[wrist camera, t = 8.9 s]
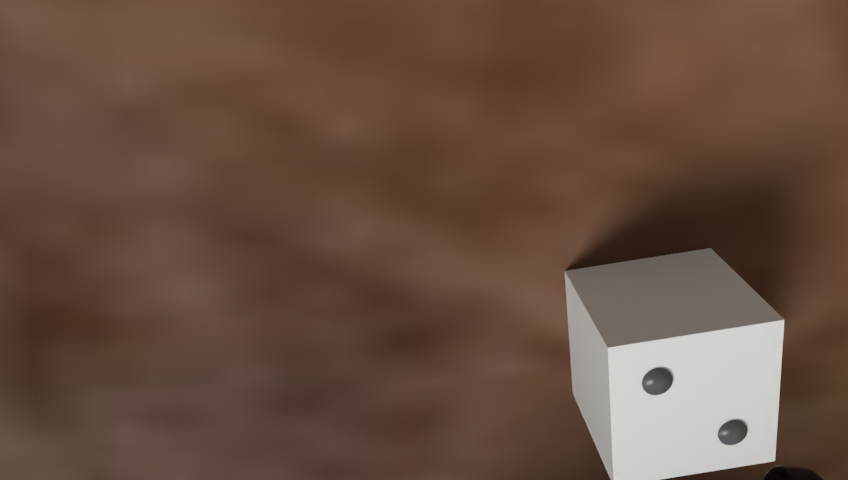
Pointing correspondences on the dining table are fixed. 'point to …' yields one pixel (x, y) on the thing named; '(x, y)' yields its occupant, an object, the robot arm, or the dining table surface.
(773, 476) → the robot arm
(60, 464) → the dining table surface
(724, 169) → the dining table surface
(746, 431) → the die
